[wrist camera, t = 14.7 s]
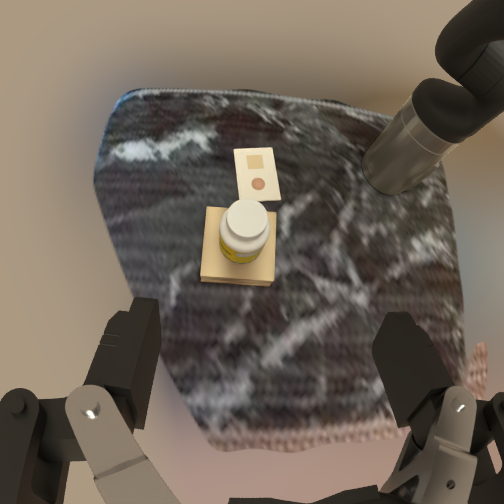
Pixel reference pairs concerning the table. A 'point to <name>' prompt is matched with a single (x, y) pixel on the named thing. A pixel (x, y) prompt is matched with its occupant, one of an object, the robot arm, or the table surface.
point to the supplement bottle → (244, 231)
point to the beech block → (227, 271)
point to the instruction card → (256, 174)
